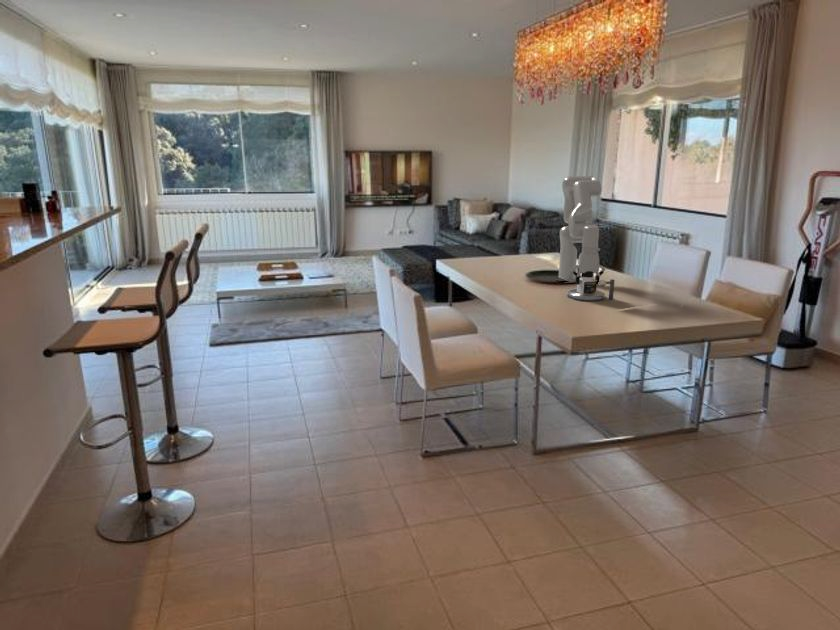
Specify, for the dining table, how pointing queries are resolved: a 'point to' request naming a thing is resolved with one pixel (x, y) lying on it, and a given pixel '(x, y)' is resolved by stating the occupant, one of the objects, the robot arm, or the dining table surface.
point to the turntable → (586, 296)
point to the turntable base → (588, 301)
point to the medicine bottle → (587, 284)
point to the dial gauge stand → (611, 291)
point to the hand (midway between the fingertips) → (587, 283)
